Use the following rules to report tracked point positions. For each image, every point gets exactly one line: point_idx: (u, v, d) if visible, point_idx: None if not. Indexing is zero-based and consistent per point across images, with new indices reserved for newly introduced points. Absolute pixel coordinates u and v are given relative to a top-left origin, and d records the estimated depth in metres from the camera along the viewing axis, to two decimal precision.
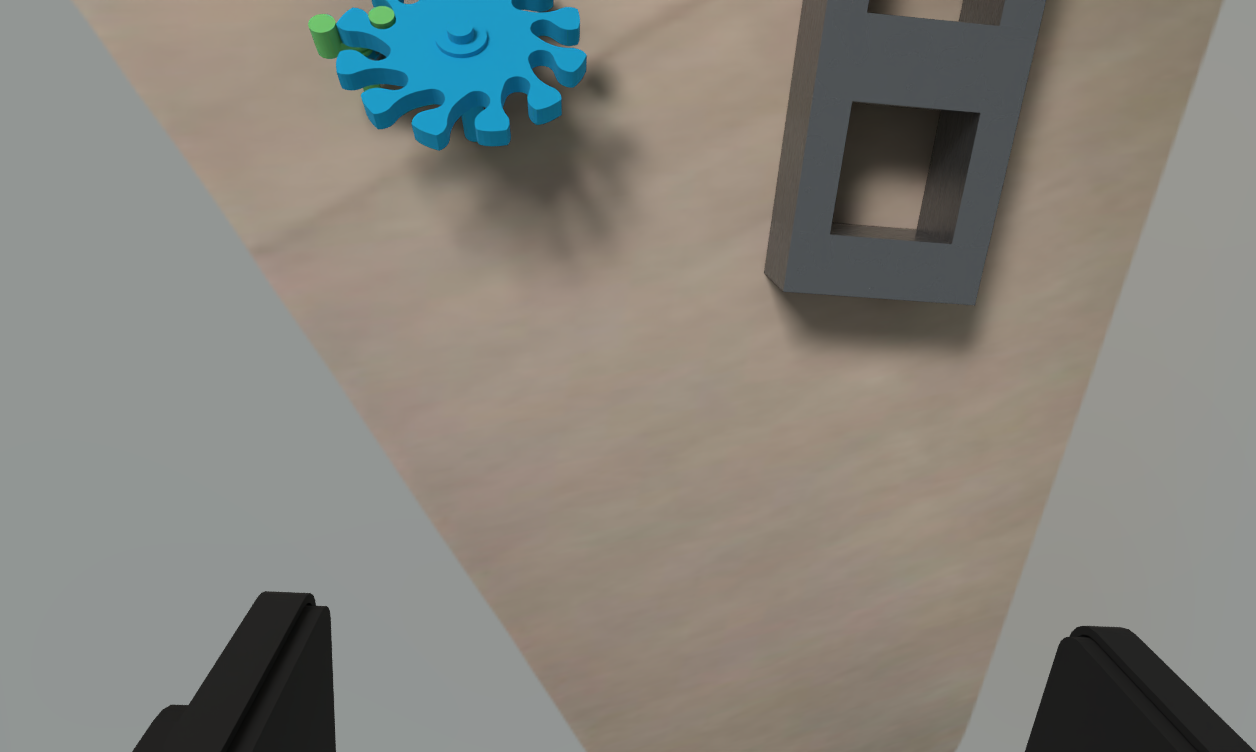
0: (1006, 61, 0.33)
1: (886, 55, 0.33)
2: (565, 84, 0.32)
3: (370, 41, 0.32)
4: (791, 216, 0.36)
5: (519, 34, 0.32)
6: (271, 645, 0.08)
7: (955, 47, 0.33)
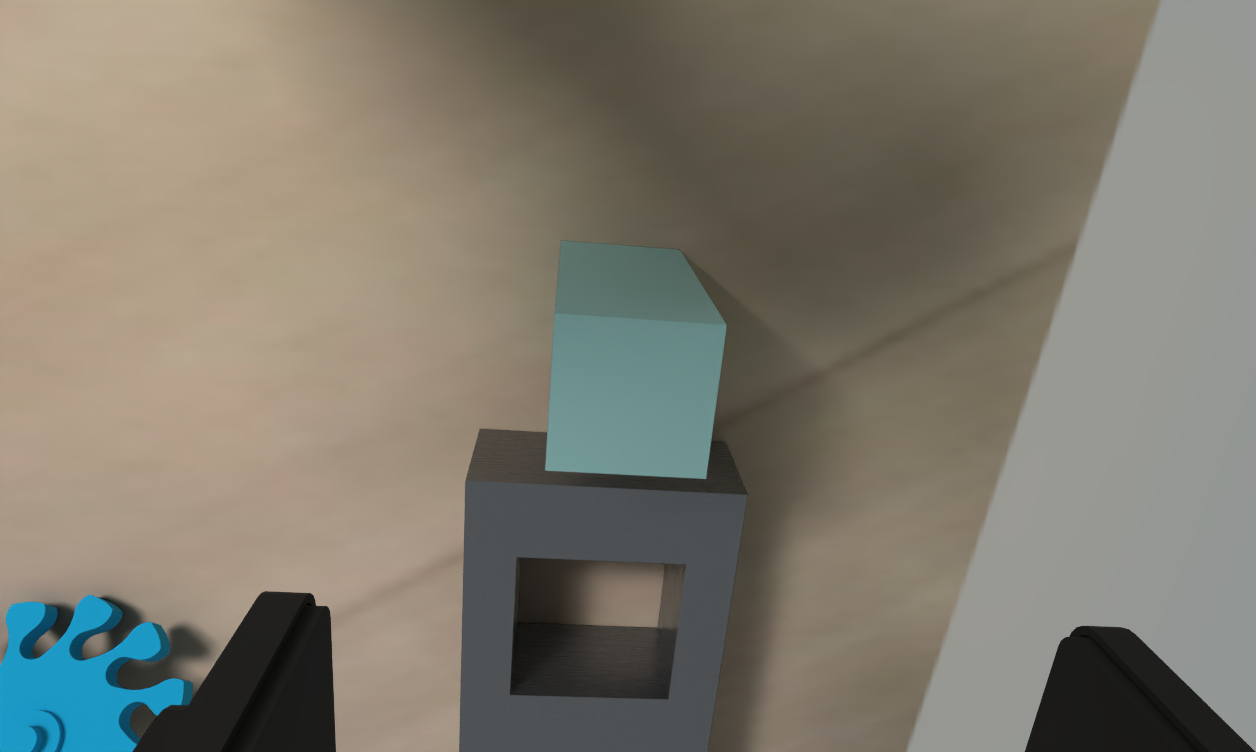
0: (681, 728, 0.29)
1: (538, 730, 0.29)
2: None
3: None
4: None
5: (103, 729, 0.28)
6: (271, 645, 0.08)
7: (619, 719, 0.29)
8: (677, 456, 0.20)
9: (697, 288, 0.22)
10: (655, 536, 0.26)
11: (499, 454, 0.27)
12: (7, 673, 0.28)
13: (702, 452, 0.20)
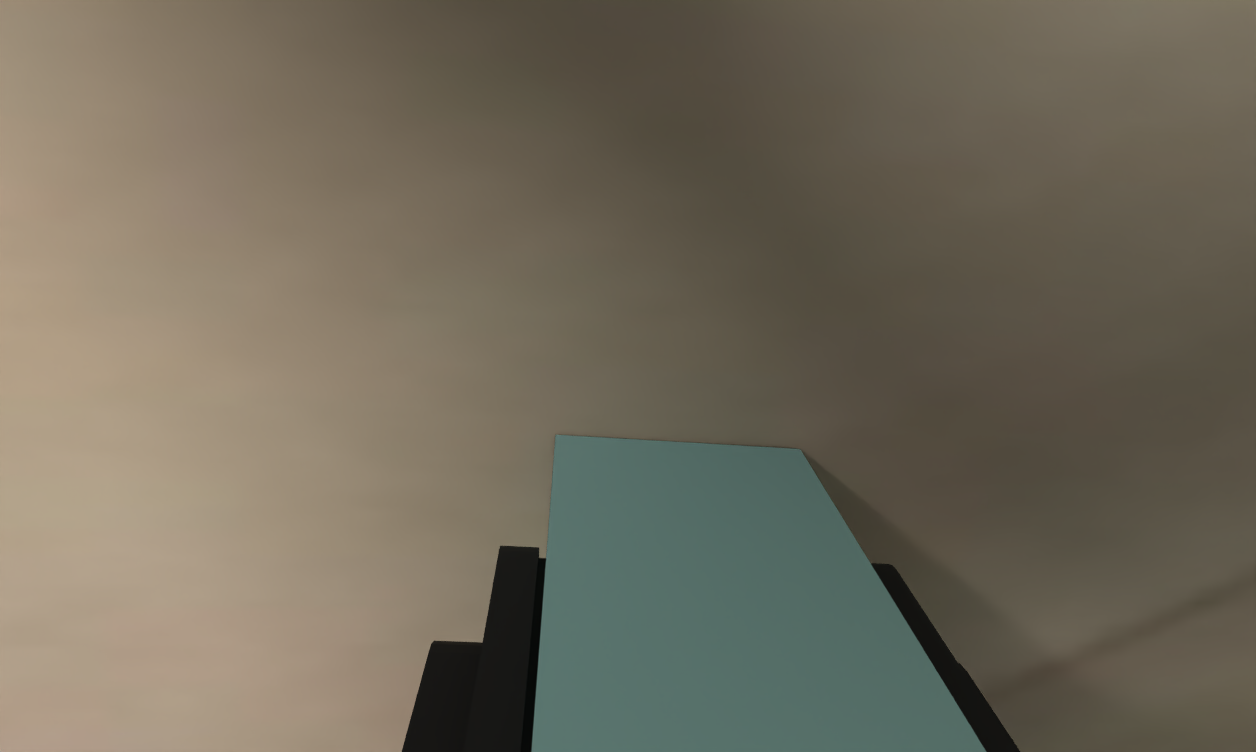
0: None
1: None
2: None
3: None
4: None
5: None
6: (527, 588, 0.10)
7: None
8: None
9: (924, 681, 0.08)
10: None
11: None
12: None
13: None
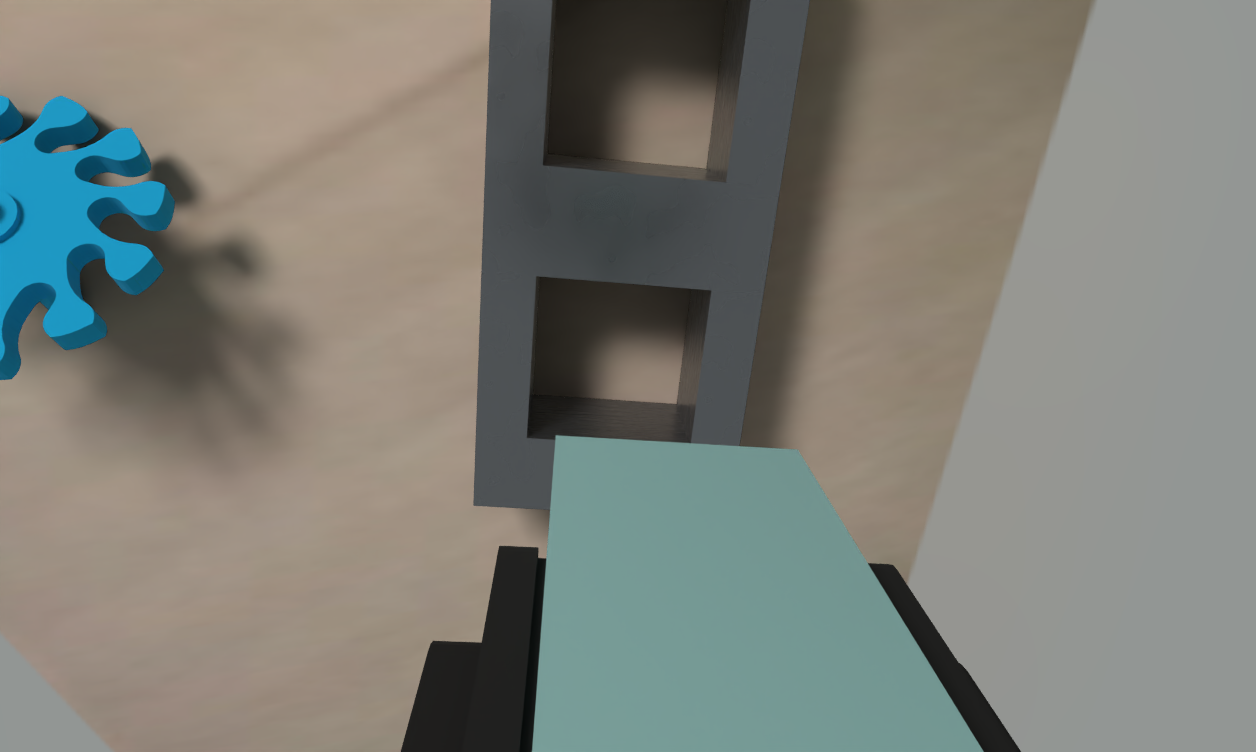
0: (739, 226, 0.25)
1: (575, 219, 0.25)
2: (127, 289, 0.24)
3: None
4: None
5: (68, 217, 0.24)
6: (527, 588, 0.10)
7: (668, 209, 0.25)
8: None
9: (919, 676, 0.08)
10: None
11: None
12: None
13: None
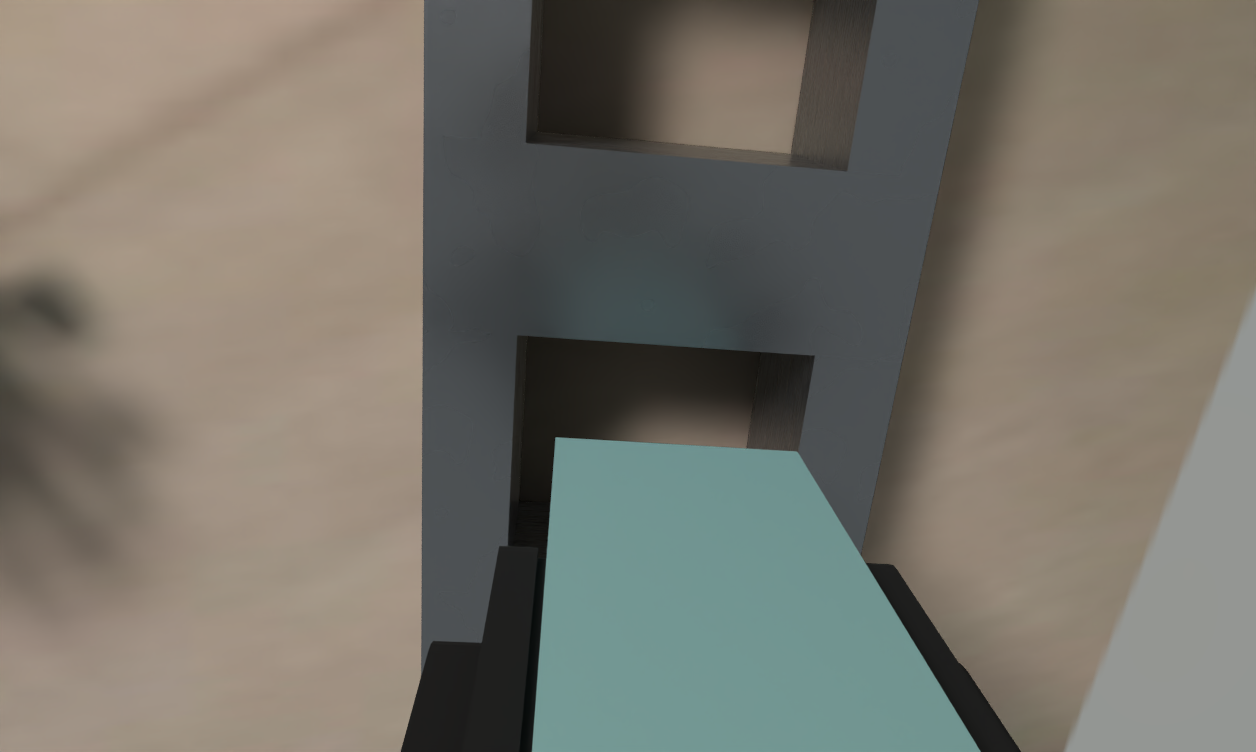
0: (867, 248, 0.15)
1: (583, 237, 0.14)
2: None
3: None
4: None
5: None
6: (527, 588, 0.10)
7: (745, 219, 0.14)
8: None
9: (918, 679, 0.08)
10: None
11: None
12: None
13: None
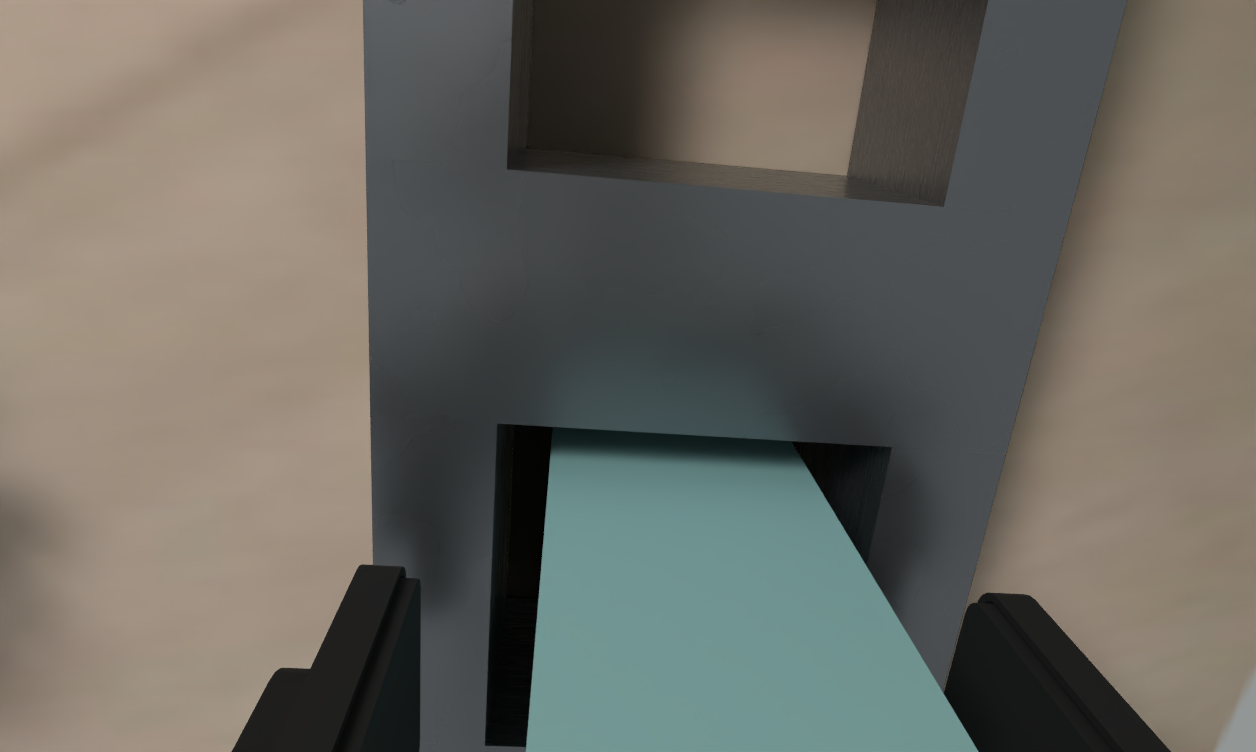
0: (967, 308, 0.11)
1: (585, 295, 0.10)
2: None
3: None
4: None
5: None
6: (377, 611, 0.09)
7: (805, 270, 0.11)
8: None
9: (843, 550, 0.10)
10: None
11: None
12: None
13: None
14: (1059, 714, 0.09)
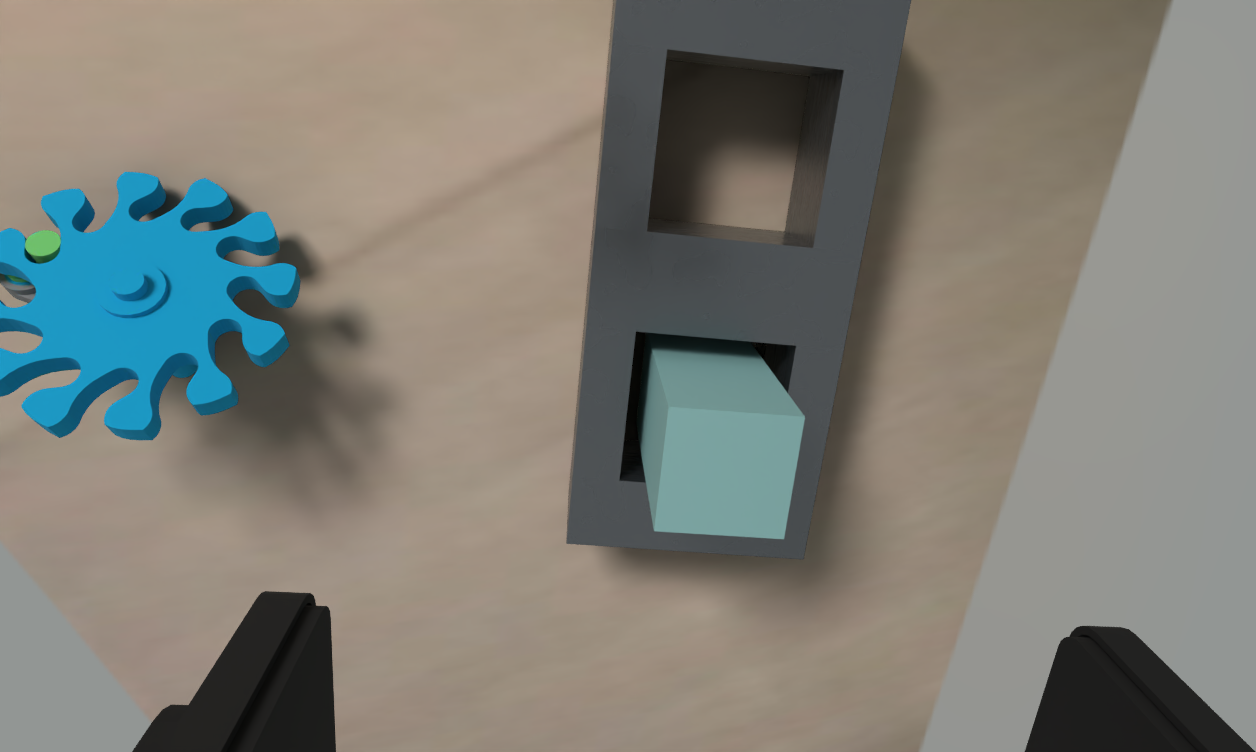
0: (824, 288, 0.27)
1: (674, 280, 0.27)
2: (257, 360, 0.27)
3: (21, 274, 0.26)
4: None
5: (210, 293, 0.27)
6: (271, 645, 0.08)
7: (759, 271, 0.27)
8: (761, 520, 0.24)
9: (772, 379, 0.27)
10: (814, 31, 0.25)
11: None
12: (114, 229, 0.27)
13: (781, 517, 0.24)
14: None
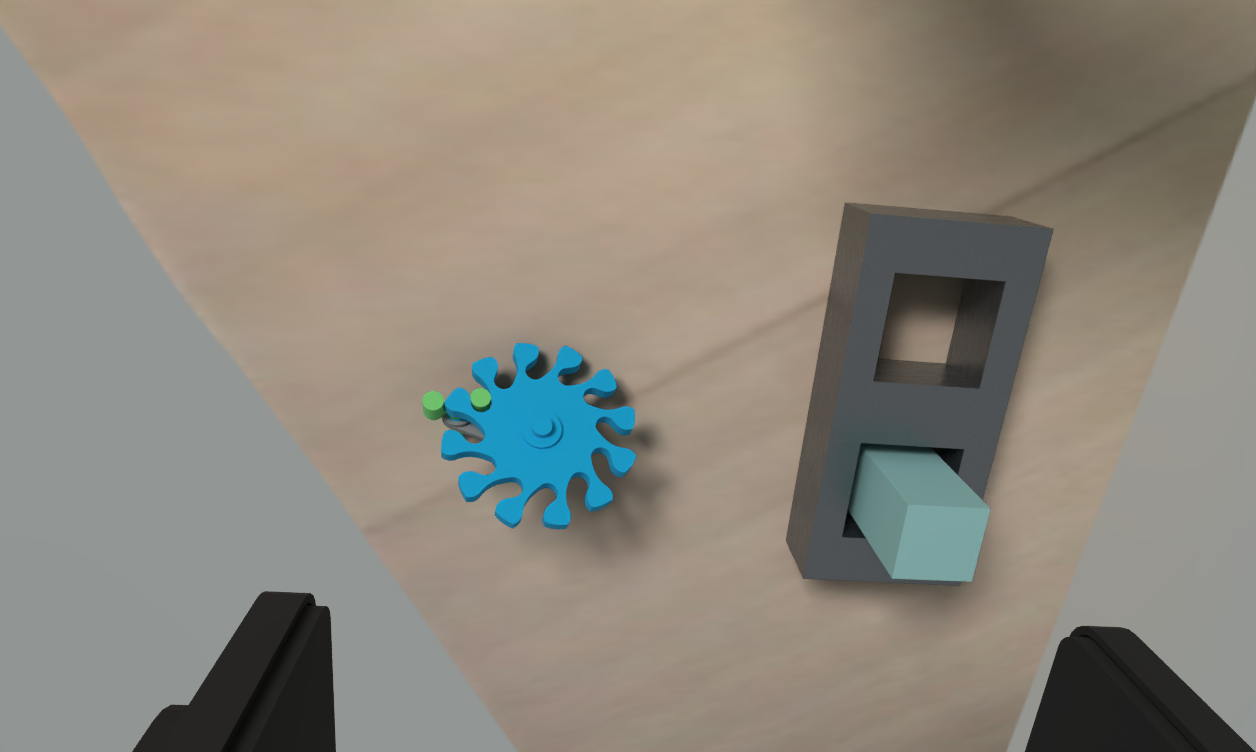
0: (985, 413, 0.42)
1: (888, 410, 0.41)
2: (615, 473, 0.41)
3: (468, 418, 0.41)
4: (810, 520, 0.44)
5: (586, 429, 0.41)
6: (271, 645, 0.08)
7: (943, 404, 0.41)
8: (958, 570, 0.39)
9: (954, 475, 0.41)
10: (988, 259, 0.39)
11: (875, 209, 0.40)
12: (520, 385, 0.41)
13: (971, 568, 0.39)
14: None
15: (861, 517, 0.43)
